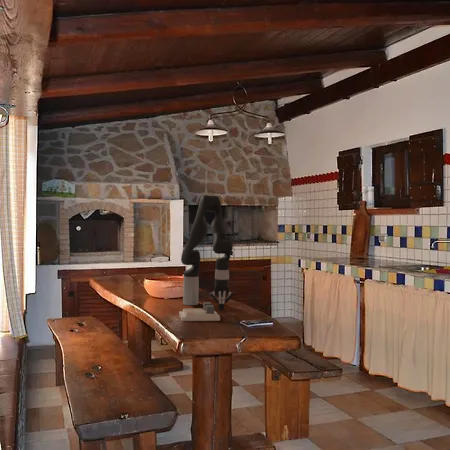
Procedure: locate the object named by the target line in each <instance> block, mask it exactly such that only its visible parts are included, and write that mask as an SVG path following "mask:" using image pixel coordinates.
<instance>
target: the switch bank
mask: <svg viewBox="0 0 450 450" xmlns="http://www.w3.org/2000/svg"><path fill="white" fill-rule="evenodd" d="M178 316H179V318H180V320H181V321H182V322H212V321H213V322H214V321H215V322H216V321H217V322H218V321H221V315H220V314H218V312H216V311H215V310H214V314H206V310H203V308H183V309H182V311H181V310H180V311H179V312H178Z"/></svg>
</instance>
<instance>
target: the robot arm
mask: <svg viewBox="0 0 450 450" xmlns="http://www.w3.org/2000/svg"><path fill="white" fill-rule="evenodd" d="M207 212H209V213H214V217H213V220H212V221H211V224H210V231H211V234H212V238H213V240H212V251H213V252H214V253H215V254H217V255H218V254H219V255H220V254H221V255H223V254H224V255H223V256H222V257H219V258H216V260H215V270H214V271H215V272H214V288H213V291H211V292H210V293H209V295H210V296H211V298H212V299H213V301H214V302H215V303H217V305H218V307H217V308H218V310H219V311H220V312H223V311H224V309H225V304H227V303H228V302H230V300H231V299H232V297H233V296H234V293H233V292H231V290H230V267H229V266H230V259H231V256H232V253H233V249H234V245H233V243H232V241H231V240H225V239H226V238H227V233H226V230H225V229H226V228H225V227H224V223H223V222H224V221H223V212H222V204H221V199H220V197H219V196H217V195H207V194H205V195H204V194H203V195H202V196H201V198H200V200H199V203H198V208H197V211H196V214H195V218H194V220H193V221H194V222H193V224H192V226H191V229H190V233H189V236H188V240H187V242H186V243H185V244H186V245H185V246H184V247H183V251H182V252H181V257H180V258H181V259H180V260H181V263H182V265H184V266H191V267H190V268H188V269H186V270H184V271H183V284H182V285H183V289H182V290H183V292H182V293H183V294H182V296H183V297H182V304H183V305H185V306H198V305H199V281H200V280H199V277H200V271H201V270H200V267H201V266H200V265H201V252H200V251H199V249H195V248H196V247H198V246H199V245H200V244H201V243H202V242H204V240H205V239H206V236H207V234H208V231H209V227H208V224H207V221H206V219H205V213H207ZM227 295H228V296H227ZM216 297H217V298H216Z"/></svg>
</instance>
